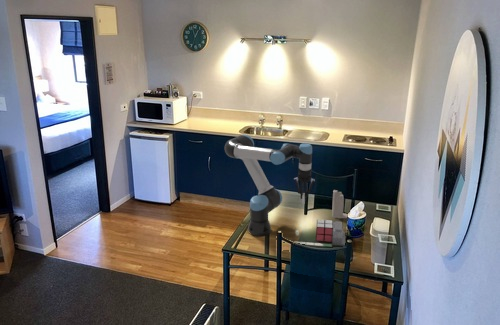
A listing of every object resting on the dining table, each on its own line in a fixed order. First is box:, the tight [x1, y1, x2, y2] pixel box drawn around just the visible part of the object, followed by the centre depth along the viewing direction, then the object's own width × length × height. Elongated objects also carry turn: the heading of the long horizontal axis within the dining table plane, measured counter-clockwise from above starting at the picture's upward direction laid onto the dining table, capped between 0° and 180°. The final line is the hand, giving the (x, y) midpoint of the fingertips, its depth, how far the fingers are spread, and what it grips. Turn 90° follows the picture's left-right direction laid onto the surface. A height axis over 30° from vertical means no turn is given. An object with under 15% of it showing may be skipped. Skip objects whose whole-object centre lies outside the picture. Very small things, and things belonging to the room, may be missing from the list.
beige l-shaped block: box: [331, 189, 348, 219], centre depth 275 cm, size 7×14×20 cm, turn 89°
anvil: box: [331, 220, 346, 247], centre depth 249 cm, size 8×16×9 cm, turn 169°
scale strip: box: [293, 240, 333, 248], centre depth 245 cm, size 23×2×1 cm, turn 79°
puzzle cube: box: [315, 219, 334, 243], centre depth 251 cm, size 10×10×10 cm
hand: (303, 203), depth 251 cm, fingers closed
